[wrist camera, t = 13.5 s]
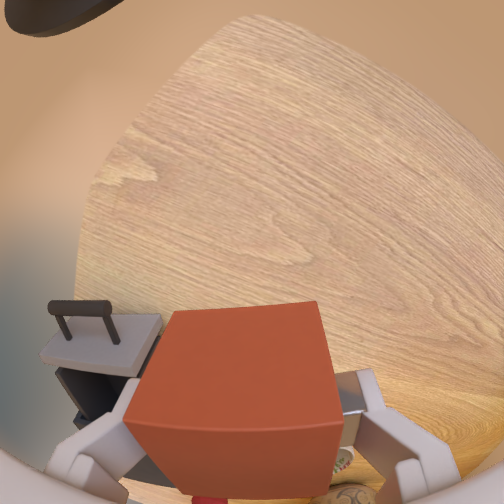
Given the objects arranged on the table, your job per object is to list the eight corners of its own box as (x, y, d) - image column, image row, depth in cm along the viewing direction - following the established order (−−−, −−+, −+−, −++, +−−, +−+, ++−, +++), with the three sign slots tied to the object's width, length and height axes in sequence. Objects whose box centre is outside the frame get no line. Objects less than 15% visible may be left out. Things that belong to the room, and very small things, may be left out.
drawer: (61, 279, 26) (18, 316, 19) (148, 273, 25) (111, 321, 18) (115, 394, 33) (94, 436, 26) (192, 402, 32) (179, 452, 24)
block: (203, 400, 11) (182, 494, 6) (173, 310, 9) (119, 419, 5) (315, 395, 10) (327, 495, 6) (316, 299, 9) (345, 422, 4)
